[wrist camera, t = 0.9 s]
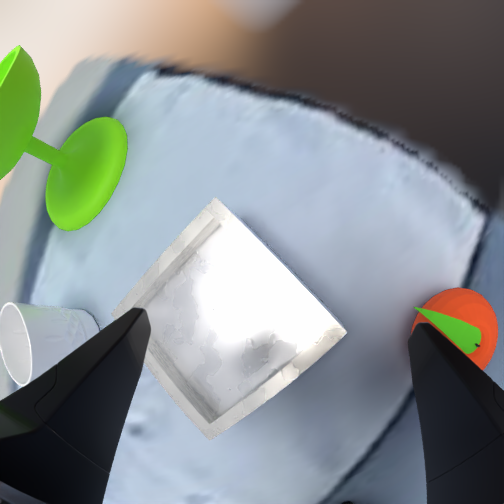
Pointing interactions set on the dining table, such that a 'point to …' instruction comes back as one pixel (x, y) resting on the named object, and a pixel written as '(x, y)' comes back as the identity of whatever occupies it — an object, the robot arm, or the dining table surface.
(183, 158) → the dining table surface
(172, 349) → the tray
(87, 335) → the white cup
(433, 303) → the clementine
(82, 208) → the wineglass
